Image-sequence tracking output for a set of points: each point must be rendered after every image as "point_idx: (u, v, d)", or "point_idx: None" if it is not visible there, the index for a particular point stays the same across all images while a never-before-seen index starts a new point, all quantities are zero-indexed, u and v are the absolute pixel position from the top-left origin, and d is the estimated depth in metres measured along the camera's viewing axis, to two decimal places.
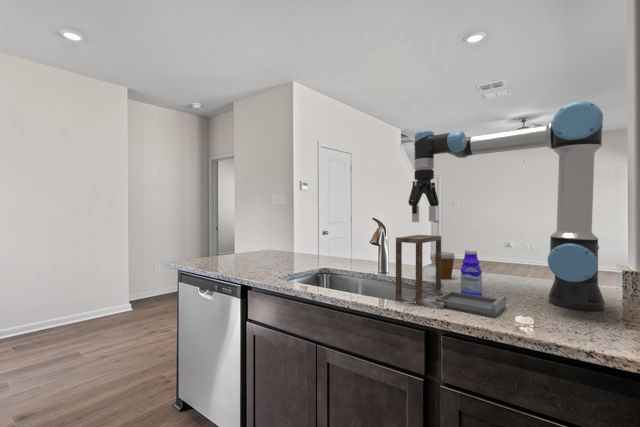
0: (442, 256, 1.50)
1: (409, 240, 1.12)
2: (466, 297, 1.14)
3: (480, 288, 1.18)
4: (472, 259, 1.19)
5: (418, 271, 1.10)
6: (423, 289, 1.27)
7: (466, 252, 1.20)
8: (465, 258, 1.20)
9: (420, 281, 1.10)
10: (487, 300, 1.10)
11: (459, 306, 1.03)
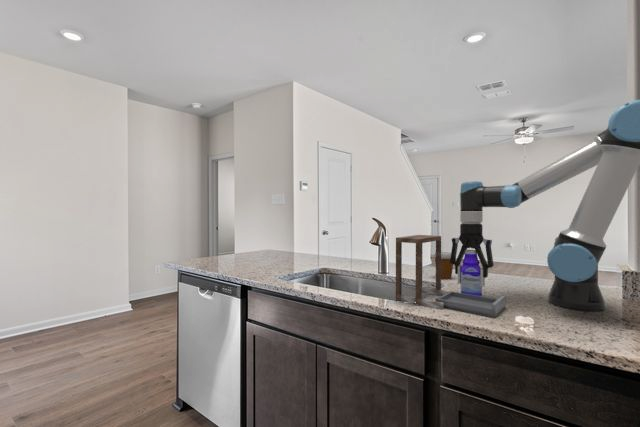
0: (442, 256, 1.50)
1: (409, 240, 1.12)
2: (466, 297, 1.14)
3: (480, 288, 1.18)
4: (472, 259, 1.19)
5: (418, 271, 1.10)
6: (423, 289, 1.27)
7: (466, 252, 1.20)
8: (465, 258, 1.20)
9: (420, 281, 1.10)
10: (487, 300, 1.10)
11: (459, 306, 1.03)
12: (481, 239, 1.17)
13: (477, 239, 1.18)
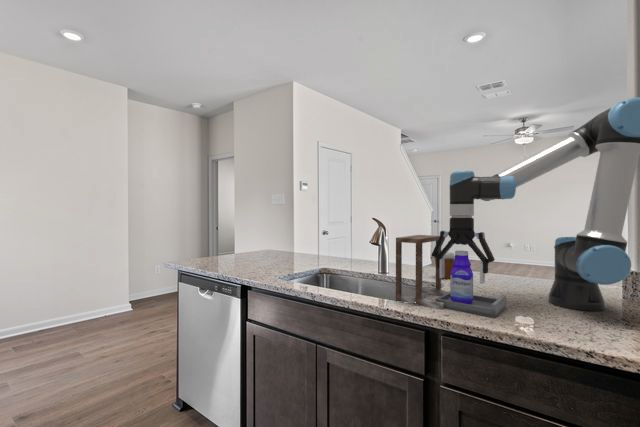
0: None
1: (409, 240, 1.12)
2: None
3: (471, 293, 1.07)
4: (463, 261, 1.07)
5: (418, 271, 1.10)
6: (423, 289, 1.27)
7: (456, 253, 1.09)
8: (455, 260, 1.09)
9: (420, 281, 1.10)
10: (487, 300, 1.10)
11: (459, 306, 1.03)
12: (472, 234, 1.06)
13: (468, 235, 1.07)
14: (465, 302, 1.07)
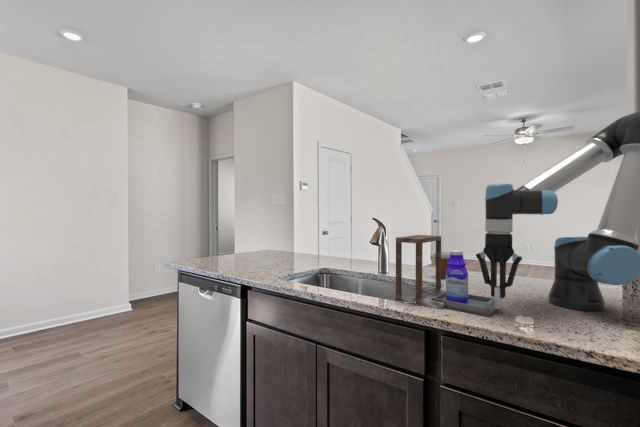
0: (442, 256, 1.50)
1: (409, 240, 1.12)
2: None
3: (466, 292, 1.08)
4: (457, 261, 1.08)
5: (418, 271, 1.10)
6: (423, 289, 1.27)
7: (451, 253, 1.10)
8: (450, 259, 1.10)
9: (420, 281, 1.10)
10: (482, 299, 1.11)
11: (454, 305, 1.04)
12: (511, 253, 0.99)
13: (506, 251, 1.00)
14: (461, 301, 1.08)
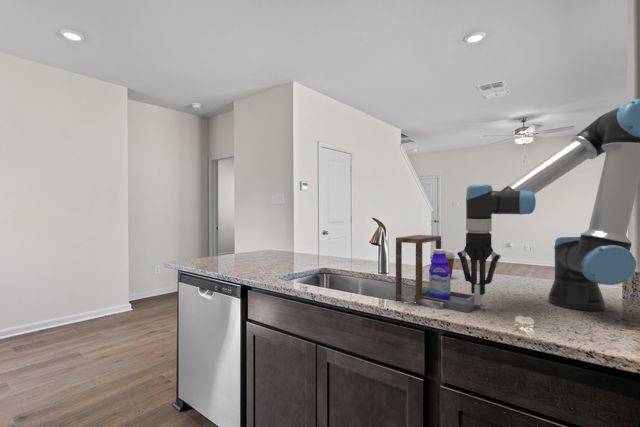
0: None
1: (409, 240, 1.12)
2: None
3: (448, 289, 1.12)
4: (440, 259, 1.12)
5: (418, 271, 1.10)
6: (423, 289, 1.27)
7: (434, 251, 1.14)
8: (433, 258, 1.14)
9: (420, 281, 1.10)
10: (464, 296, 1.15)
11: None
12: (490, 251, 1.03)
13: (485, 250, 1.03)
14: (443, 298, 1.12)
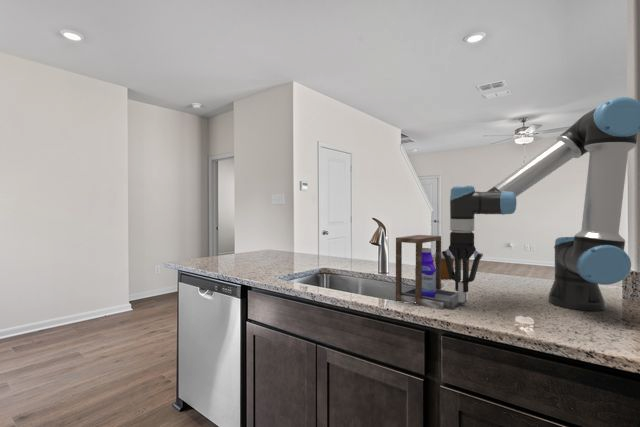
0: (442, 256, 1.50)
1: (409, 240, 1.12)
2: None
3: (434, 287, 1.15)
4: (425, 258, 1.16)
5: (418, 271, 1.10)
6: None
7: None
8: None
9: (420, 281, 1.10)
10: (449, 294, 1.18)
11: None
12: (472, 250, 1.06)
13: (468, 249, 1.07)
14: (428, 296, 1.15)
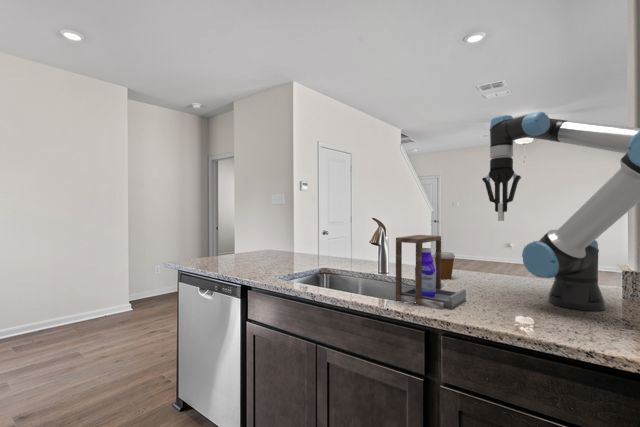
0: (442, 256, 1.50)
1: (409, 240, 1.12)
2: None
3: (433, 287, 1.15)
4: (425, 258, 1.16)
5: (418, 271, 1.10)
6: None
7: None
8: None
9: (420, 281, 1.10)
10: (449, 294, 1.18)
11: None
12: (512, 173, 1.19)
13: (508, 172, 1.20)
14: (428, 296, 1.15)
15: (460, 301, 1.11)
